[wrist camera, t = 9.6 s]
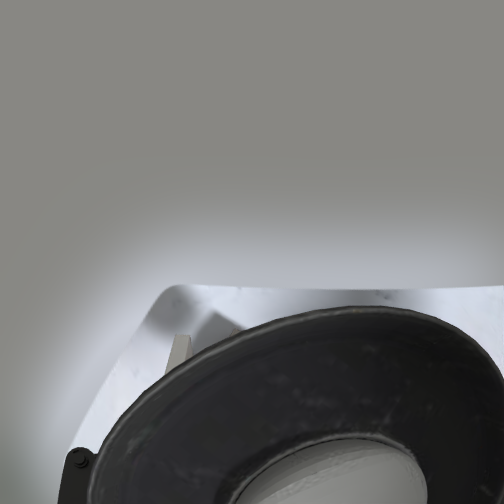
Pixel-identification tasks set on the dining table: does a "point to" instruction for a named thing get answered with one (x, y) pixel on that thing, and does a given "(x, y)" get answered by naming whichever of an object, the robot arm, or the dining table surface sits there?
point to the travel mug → (316, 418)
